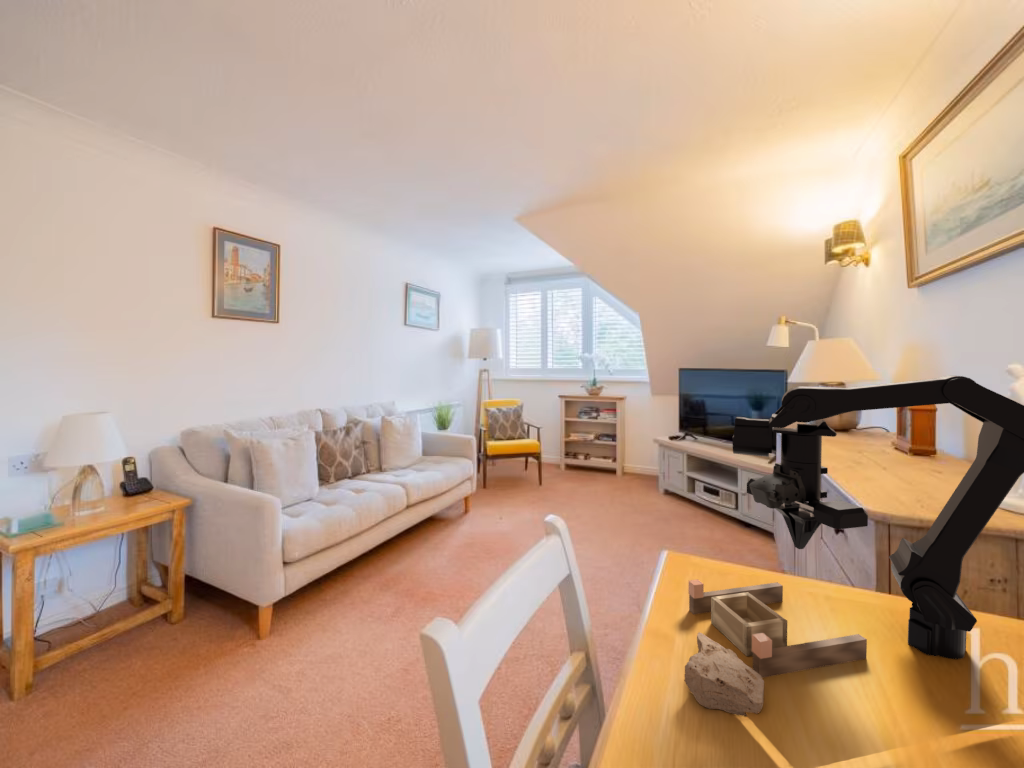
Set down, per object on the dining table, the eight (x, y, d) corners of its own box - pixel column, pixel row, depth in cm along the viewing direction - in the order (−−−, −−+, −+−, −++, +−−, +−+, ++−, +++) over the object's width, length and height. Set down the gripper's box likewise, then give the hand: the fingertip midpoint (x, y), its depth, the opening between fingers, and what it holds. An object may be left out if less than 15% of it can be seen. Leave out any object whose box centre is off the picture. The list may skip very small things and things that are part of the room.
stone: (681, 701, 54) (681, 666, 54) (700, 652, 64) (701, 621, 63) (759, 737, 49) (760, 698, 49) (768, 678, 58) (769, 644, 58)
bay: (776, 601, 76) (776, 569, 76) (867, 665, 60) (868, 624, 60) (688, 614, 73) (688, 580, 73) (760, 685, 57) (760, 642, 56)
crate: (747, 617, 70) (747, 592, 70) (787, 649, 62) (787, 620, 62) (711, 623, 69) (711, 597, 69) (746, 656, 61) (746, 627, 61)
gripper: (721, 451, 78) (721, 531, 79) (809, 477, 60) (807, 581, 61) (772, 447, 80) (771, 526, 81) (871, 472, 62) (869, 573, 63)
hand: (799, 548), depth 71 cm, fingers closed
